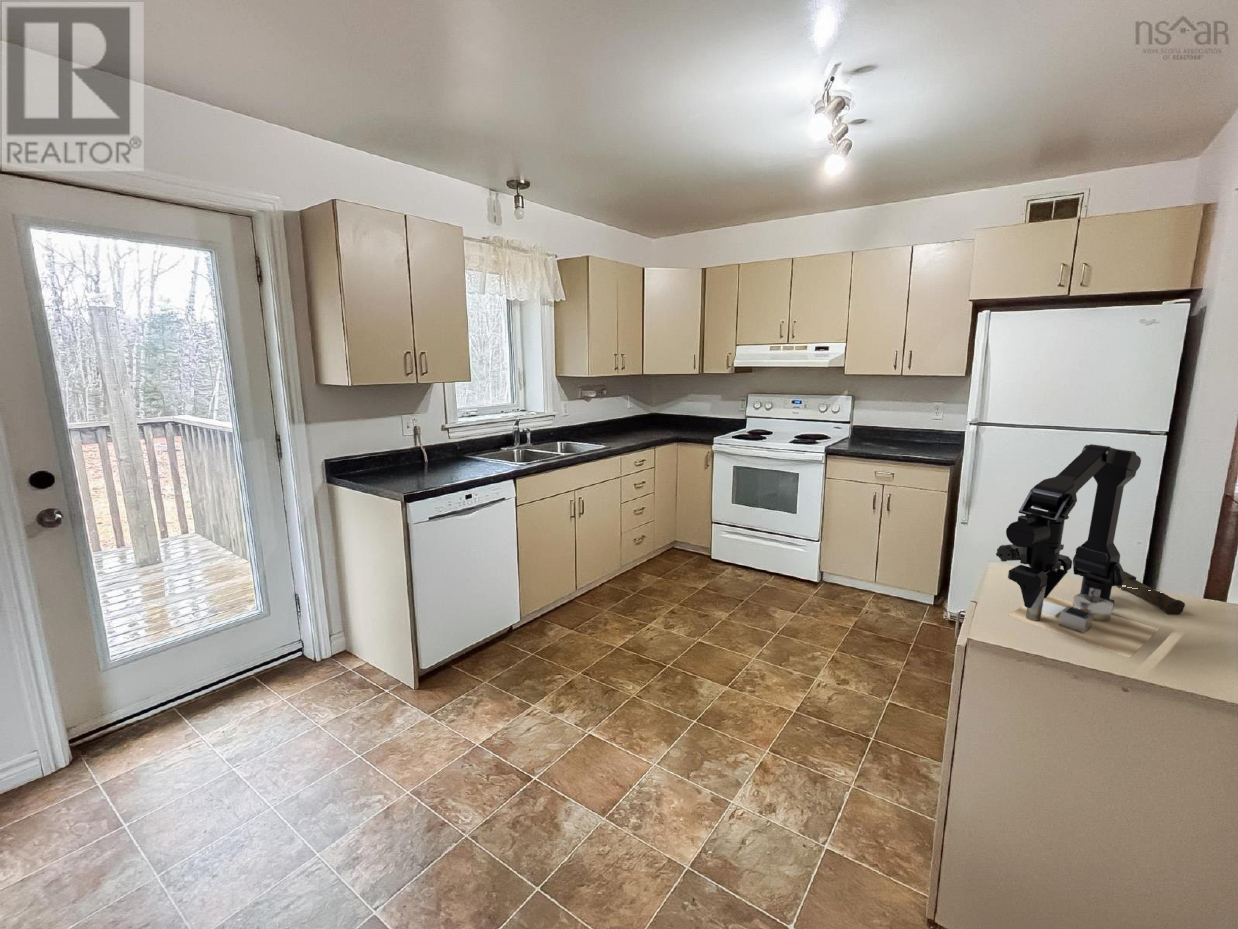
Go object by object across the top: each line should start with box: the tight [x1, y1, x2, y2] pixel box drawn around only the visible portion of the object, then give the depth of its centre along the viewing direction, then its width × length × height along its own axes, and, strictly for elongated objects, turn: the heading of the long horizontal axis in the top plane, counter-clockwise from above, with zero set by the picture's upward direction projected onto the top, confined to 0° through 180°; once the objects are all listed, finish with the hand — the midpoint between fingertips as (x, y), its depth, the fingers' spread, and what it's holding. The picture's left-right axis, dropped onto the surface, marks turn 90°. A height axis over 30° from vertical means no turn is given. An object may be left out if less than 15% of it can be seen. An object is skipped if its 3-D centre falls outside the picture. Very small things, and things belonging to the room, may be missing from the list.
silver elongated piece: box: [1059, 587, 1114, 634], centre depth 125 cm, size 16×7×6 cm, turn 123°
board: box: [1007, 594, 1160, 658], centre depth 125 cm, size 20×22×2 cm
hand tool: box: [1116, 570, 1186, 616], centre depth 139 cm, size 19×4×5 cm, turn 174°
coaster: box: [1023, 601, 1066, 617], centre depth 132 cm, size 6×6×1 cm
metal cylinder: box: [1026, 581, 1047, 621], centre depth 126 cm, size 3×3×10 cm
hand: (1035, 602), depth 126 cm, fingers open, 8 cm apart
